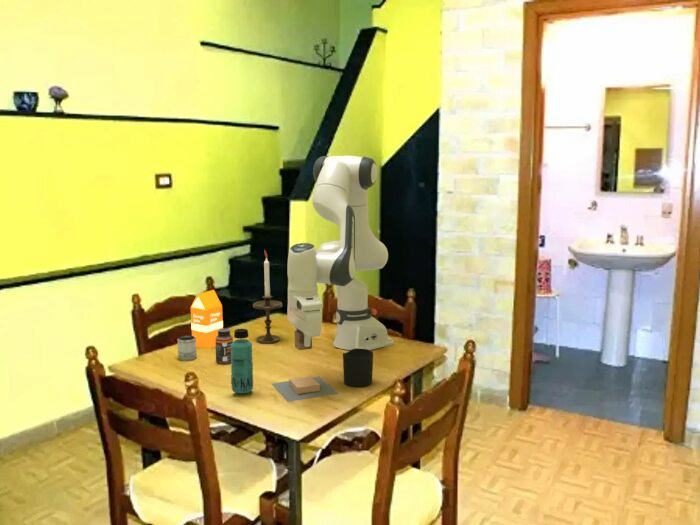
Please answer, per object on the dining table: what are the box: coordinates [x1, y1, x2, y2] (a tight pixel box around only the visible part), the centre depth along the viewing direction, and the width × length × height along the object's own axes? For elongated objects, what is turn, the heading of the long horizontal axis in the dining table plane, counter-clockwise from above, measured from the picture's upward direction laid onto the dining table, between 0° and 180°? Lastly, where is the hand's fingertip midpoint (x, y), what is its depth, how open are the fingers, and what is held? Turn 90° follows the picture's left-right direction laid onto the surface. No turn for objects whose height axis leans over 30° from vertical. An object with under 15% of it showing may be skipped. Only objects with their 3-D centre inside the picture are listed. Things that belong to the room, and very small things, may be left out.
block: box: [294, 330, 313, 351], centre depth 200 cm, size 4×4×5 cm
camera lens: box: [177, 334, 197, 362], centre depth 232 cm, size 6×6×8 cm
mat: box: [271, 376, 339, 403], centre depth 202 cm, size 16×16×1 cm
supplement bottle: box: [215, 328, 234, 365], centre depth 228 cm, size 6×6×11 cm
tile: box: [288, 375, 320, 394], centre depth 202 cm, size 7×2×8 cm
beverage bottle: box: [230, 328, 254, 394], centre depth 197 cm, size 6×7×20 cm
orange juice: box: [190, 289, 224, 349], centre depth 247 cm, size 8×9×20 cm
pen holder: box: [342, 348, 374, 389], centre depth 207 cm, size 9×9×10 cm
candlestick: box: [252, 249, 283, 345], centre depth 250 cm, size 11×11×35 cm
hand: (303, 343), depth 200 cm, fingers closed on block, 4 cm apart
